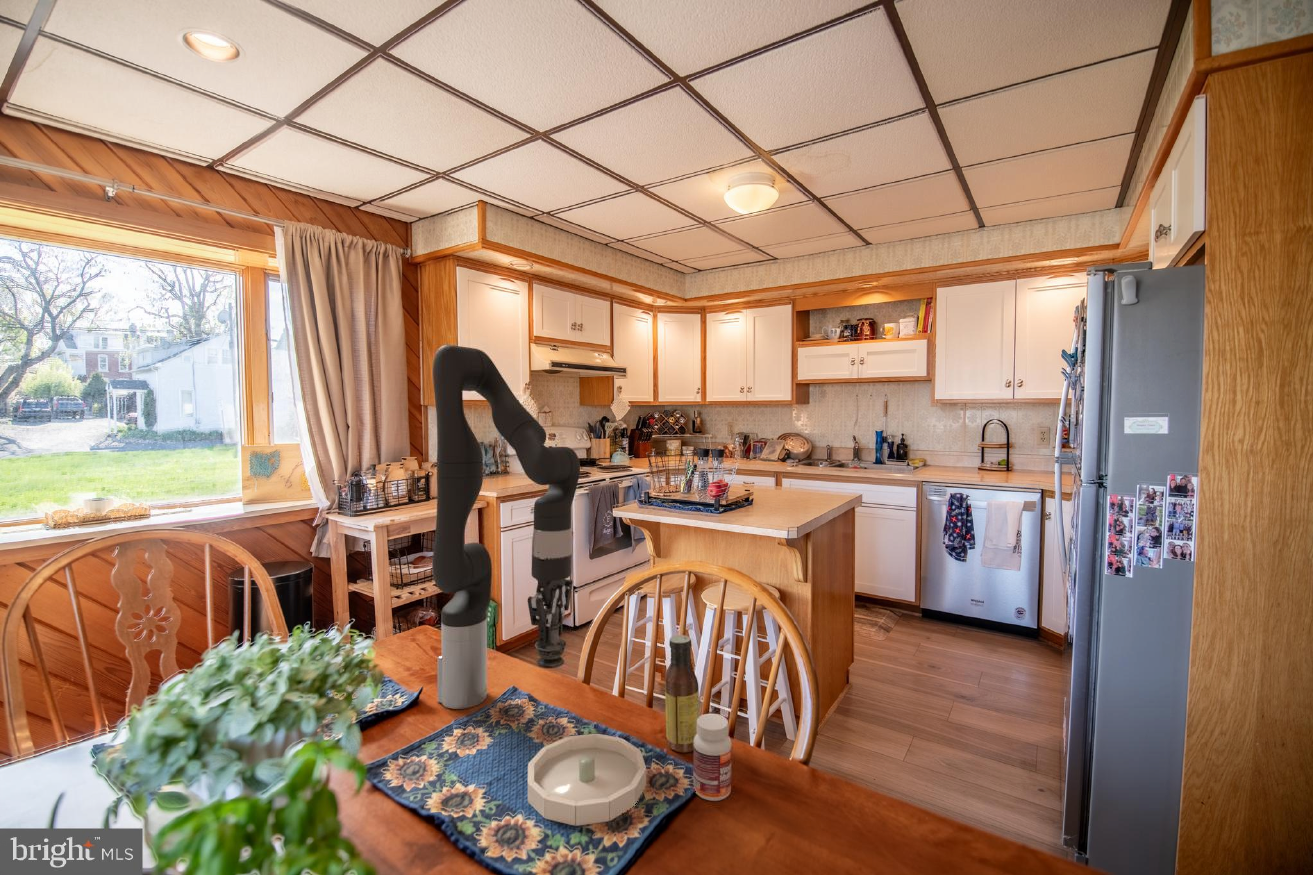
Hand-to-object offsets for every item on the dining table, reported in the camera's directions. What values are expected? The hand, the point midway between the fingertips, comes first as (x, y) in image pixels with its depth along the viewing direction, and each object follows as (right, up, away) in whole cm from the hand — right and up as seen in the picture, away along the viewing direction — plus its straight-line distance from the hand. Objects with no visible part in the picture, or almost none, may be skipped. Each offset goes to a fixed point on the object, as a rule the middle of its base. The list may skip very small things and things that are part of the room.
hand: (550, 639), depth 109 cm
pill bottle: (+29, -19, -16) cm, 38 cm away
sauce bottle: (+25, -18, -3) cm, 31 cm away
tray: (+9, -18, -15) cm, 25 cm away
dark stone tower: (0, -5, 0) cm, 5 cm away
